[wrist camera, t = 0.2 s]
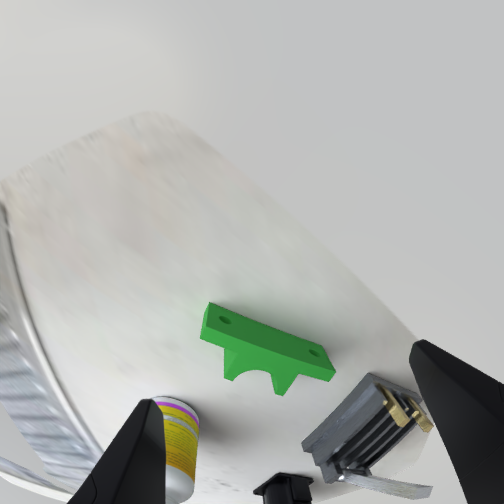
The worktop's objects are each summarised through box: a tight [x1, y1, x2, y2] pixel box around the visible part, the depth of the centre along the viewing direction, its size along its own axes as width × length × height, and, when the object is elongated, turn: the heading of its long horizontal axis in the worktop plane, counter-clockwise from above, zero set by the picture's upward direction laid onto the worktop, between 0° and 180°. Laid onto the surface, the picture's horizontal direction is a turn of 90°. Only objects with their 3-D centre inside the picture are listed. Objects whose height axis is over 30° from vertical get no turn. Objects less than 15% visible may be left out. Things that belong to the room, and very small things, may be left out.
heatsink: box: [302, 373, 434, 486], centre depth 26 cm, size 12×10×7 cm
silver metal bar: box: [336, 468, 433, 499], centre depth 20 cm, size 12×4×2 cm
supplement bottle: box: [151, 397, 199, 504], centre depth 20 cm, size 7×7×13 cm
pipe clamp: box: [200, 302, 336, 396], centre depth 23 cm, size 11×4×5 cm, turn 64°
